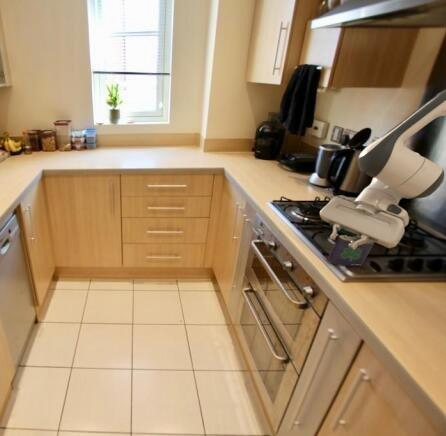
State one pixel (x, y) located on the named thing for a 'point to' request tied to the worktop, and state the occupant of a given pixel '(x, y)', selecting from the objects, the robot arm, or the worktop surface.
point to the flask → (349, 251)
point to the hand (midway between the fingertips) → (341, 243)
